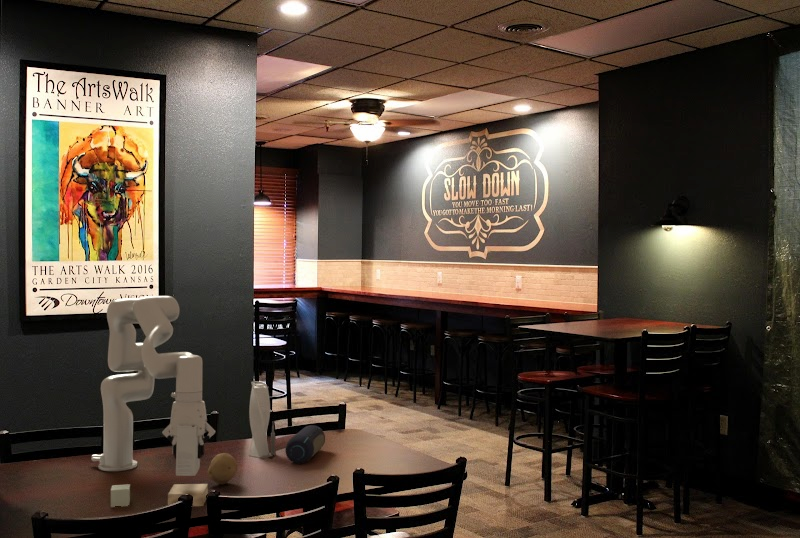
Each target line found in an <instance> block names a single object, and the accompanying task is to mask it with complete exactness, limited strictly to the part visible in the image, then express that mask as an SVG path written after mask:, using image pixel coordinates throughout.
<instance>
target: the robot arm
mask: <svg viewBox="0 0 800 538" xmlns="http://www.w3.org/2000/svg"><path fill="white" fill-rule="evenodd" d="M180 310H181V309H180V305H179V303H178V301H177V299H176V298H174V296H172V295H171V296H170V295H150V296H143V297H140V298H138V297H134V298H133V297H131V298H118V299H115V300H112V301H111V302H110V303H109V304H108V306H107V309H106V319H107V323H108V328H109V329H108V330H109V337H108V338H109V339H108V351H107V365H108V368H109V369H110V371H112V372H117V373H123V374H115V375H109V376H107V377H105V378H104V379H103V380H102V381H101V383H100V393H101V400H102V406H103V407H102V410H103V448H102V449H103V453H101V454H92V455H91V458H90V459H91V461H92V462H99V464H98V467H97V468H98V469H99V470H100V471H104V472H123V471H128V470H132V469H135V468H136V467H137V466H138V461H137V460H134V459H133V456H134V455H133V453H134V452H133V449H134V448H133V446H134V415H133V412H132V410H131V409H130V407H129V406H127V405H128V404H127V403H129V402H136V401H137V402H138V401H143V400H144V401H145V400H148V399H150V398H151V397H152V395H153V393H154V388H155V379H156V380H157V379H158V380H161V379H163V380H164V379H170V378H175V379H176V381H175V392H171V394H170V398H173V399H174V400H175V401H173V402H172V405H171V412H170V422H169V424H168V425H167V426H166V427H165V428H164V429H163V430H162V432H161V433H162V435H163V436H164V437H165V438H167V441H169V442H170V443H171V445H172V449H173V454H172V455H173V456H174V459H175V460H176V447H177V426H178V425H193V426H197V437H198V441H199V445H198V459H200V460H201V459H202V457H203V456H204V455H205V444H206V442H208V441H209V439H211V437H212V436H214V435H215V434H216V430H215V429H214V428H213V427H212V426H211V425H210V424H209V423H208V422H207V421H208V418H207V409H206V403H205V401H204V400H203V358H202V357H201V356H200V355H197V354H193V353H192V352H189V351H180V352H179V351H175V352H174V351H173V352H162V353H161V352H160V353H158V352H157V351H156V349H155V348H157V347H159V346H161V345H163V344H164V343H166V342H167V341H169V339H170V338H171V337H172V335H173V332H174V327H173V325H172V324H171V322H174V321H176V320H177V319H178V318H179V316H180ZM133 324H139V326H140V328H141V330H142V332H143V334H144V335H145V338H144V339H143V341H142V342H136V341H137V331H136V328H135V326H134V325H133ZM134 371H135V372H136V373H134ZM125 372H133V373H125ZM207 432H208V433H207ZM205 433H207V435H205V436H204V434H205Z"/></svg>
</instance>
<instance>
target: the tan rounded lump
mask: <svg viewBox="0 0 800 538" xmlns="http://www.w3.org/2000/svg"><path fill="white" fill-rule="evenodd" d="M237 472H238V464H237V461H236V459H235V457H234V456H232V455H231V454H230V453H227V452H223V453H218V454H216V455H215V456H214V457H213V458H212V460H211V461H210V464H209V467H208V469H207V473H206V475H207V477H208V479H209V480H211V481H213V482H215V483H216V484H219V485H226V484H227V483H228V482H230V481H231V480H232V479H233V478H234V477H235V476H236V474H237Z"/></svg>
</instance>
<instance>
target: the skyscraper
mask: <svg viewBox="0 0 800 538" xmlns="http://www.w3.org/2000/svg"><path fill="white" fill-rule="evenodd" d="M248 408H249V410H248V411H249V412H248V413H249V415H248V416H249V425H250V431H251V435H252V437H251V441H250V442H251V443H250V449H249V453H248V456H249V457H252V458H258V459H262V460H264V459H267V458H270V457H273V455H274V456H276V455H277V454H276V451H275V450H276V443H275V437H276V433H275V431H274V430H275V425H272V426H271V433H270V445H269V444H268V439H267V432H268V426H269V423H270V414H271V401H270V392H269V387H268V385H267V383H265V382H262V381H258V380H257V381H256V380H254V381H251V392H250V398H249V407H248ZM272 424H275V423H274V421H272ZM269 446H270V448H269ZM269 449H270V450H269Z"/></svg>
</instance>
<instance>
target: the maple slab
mask: <svg viewBox="0 0 800 538" xmlns="http://www.w3.org/2000/svg"><path fill="white" fill-rule="evenodd" d="M208 485H209V484H208V483H184V484H183V483H182V484H181V483H179V484H177V483H176V484H175V483H174V484H173V485H172V487H171V488H170V490H169V492H168V493H167V506H168V505H169V504H173V503H176V502H178V498H179V497H180V496H181V495H184V494H190V495H192V496H193V506H192V507H204V504H205V503H206V500H207V498H206V495H207V494H208V493H209V492H208V491H209V490H208V489H209V488H208ZM208 495H209V494H208Z"/></svg>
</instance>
